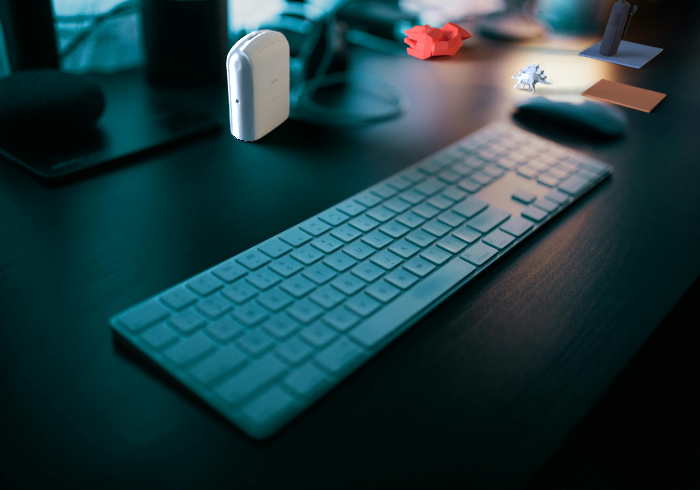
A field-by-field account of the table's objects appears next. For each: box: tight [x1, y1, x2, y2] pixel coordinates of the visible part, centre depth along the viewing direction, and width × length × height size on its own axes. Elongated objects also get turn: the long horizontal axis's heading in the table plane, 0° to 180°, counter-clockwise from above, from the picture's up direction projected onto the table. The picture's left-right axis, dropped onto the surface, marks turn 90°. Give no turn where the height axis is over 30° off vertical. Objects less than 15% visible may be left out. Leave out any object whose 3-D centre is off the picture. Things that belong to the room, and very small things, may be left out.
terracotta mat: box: [580, 78, 667, 114], centre depth 98 cm, size 11×11×1 cm
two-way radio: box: [599, 0, 639, 57], centre depth 115 cm, size 6×4×15 cm
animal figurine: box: [403, 21, 473, 60], centre depth 112 cm, size 12×15×5 cm
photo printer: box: [226, 29, 290, 142], centre depth 74 cm, size 10×4×12 cm, turn 157°
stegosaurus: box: [511, 63, 554, 94], centre depth 96 cm, size 2×7×5 cm, turn 60°
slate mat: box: [578, 39, 664, 70], centre depth 122 cm, size 12×19×1 cm, turn 143°
